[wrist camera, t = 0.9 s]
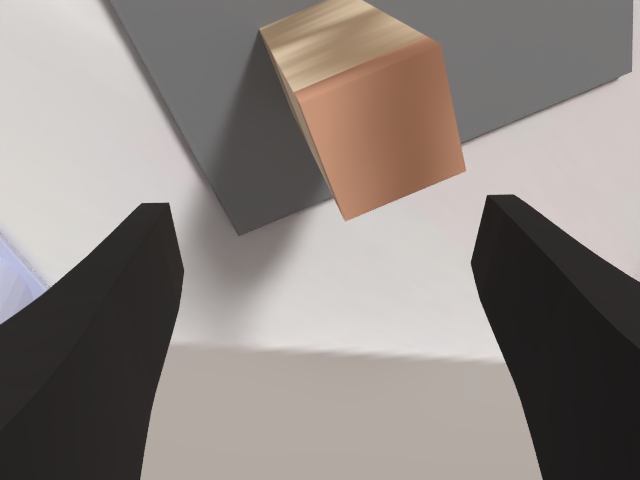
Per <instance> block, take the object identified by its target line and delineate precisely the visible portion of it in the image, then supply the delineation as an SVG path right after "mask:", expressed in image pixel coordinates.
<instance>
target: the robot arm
mask: <svg viewBox="0 0 640 480" xmlns="http://www.w3.org/2000/svg"><path fill="white" fill-rule="evenodd" d="M471 266H472V270H473V274H474V279H475V283H476V287H477V290H478V294H479V298H480V301H481V303H482V306H483V308H484V311H485V313H486V316H487V318H488V321H489V323H490V326H491V328H492V330H493V333H494V335H495V338H496V340H497V342H498V345H499V347H500V350H501V352H502V354H503V357H504V359H505V361H506V364H507V366H508V369H509V371H510V373H511V376H512V378H513V381H514V383H515V386H516V389H517V391H518V394H519V397H520V400H521V403H522V407H523V410H524V413H525V417H526V420H527V424H528V427H529V430H530V434H531V437H532V441H533V445H534V448H535V452H536V456H537V459H538V463H539V467H540V471H541V474H542V478H543V480H640V282H638V281H637V280H635V279H633V278H632V277H630V276H629V275H627V274H625V273H624V272H622V271H621V270H619V269H618V268H616V267H615V266H613V265H612V264H610V263H608V262H607V261H605V260H604V259H602V258H601V257H599V256H598V255H596V254H595V253H594V252H592V251H591V250H589V249H588V248H586V247H585V246H584V245H582V244H581V243H579V242H578V241H577V240H575V239H574V238H573V237H571V236H570V235H568V234H567V233H566V232H564V231H563V230H562V229H560V228H559V227H558V226H556V225H555V224H554V223H552V222H551V221H550V220H548V219H547V218H546V217H544V216H543V215H542V214H540V213H539V212H538V211H536V210H535V209H534V208H532V207H531V206H530V205H528V204H527V203H526V202H524V201H523V200H521V199H520V198H518V197H517V196H515V195H514V194H513V195H487V198H486V202H485V206H484V210H483V214H482V218H481V223H480V227H479V231H478V235H477V239H476V243H475V247H474V251H473V256H472V260H471ZM183 276H184V268H183V263H182V259H181V254H180V250H179V245H178V241H177V237H176V232H175V228H174V223H173V219H172V214H171V210H170V205H169V203H141V204H140V205H139V206H138V207H137V208H136V209H135V210H134V211H133V212H132V213H131V214H130V215H129V216H128V217H127V218H126V219H125V220H124V221H123V222H122V223H121V224H120V225H119V226H118V227H117V228H116V229H115V230H114V231H113V232H112V233H111V234H110V235H109V236H108V237H107V238H105V239H104V240H103V241H102V242H101V243H100V244H99V245H98V246H97V247H96V248H95V249H94V250H93V251H92V252H91V253H90V254H89V255H88V256H87V257H86V258H84V259H83V260H82V261H81V262H80V263H79V264H77V265H76V266H75V267H74V268H73V269H72V270H71V271H69V272H68V273H67V274H66V275H65V276H64V277H62V278H61V279H60V280H59V281H58V282H57V283H55V284H54V285H53V286H52V287H51V288H49V287H48V286H47V285H46V284H45V283H44V282H43V281H42V280H41V278H40V277H39V276H38V275H37V274H36V273H35V272H34V271H33V269H32V268H31V267H30V266H29V265H28V264H27V263H26V262H25V261H24V259H23V258H22V257H21V256H20V255H19V254H18V253H17V252H16V250H15V249H14V248H13V247H12V246H11V245H10V244H9V243H8V241H7V240H6V239H5V238H4V237H3V236H2V235H1V234H0V480H140V477H141V470H142V463H143V457H144V450H145V444H146V438H147V432H148V427H149V421H150V414H151V410H152V406H153V401H154V397H155V393H156V389H157V385H158V382H159V379H160V375H161V372H162V368H163V365H164V361H165V357H166V354H167V350H168V347H169V343H170V340H171V336H172V333H173V329H174V326H175V322H176V318H177V314H178V311H179V305H180V299H181V292H182V284H183Z"/></svg>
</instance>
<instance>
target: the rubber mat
mask: <svg viewBox="0 0 640 480" xmlns="http://www.w3.org/2000/svg"><path fill="white" fill-rule="evenodd" d="M109 1H110V3H111V4H112V6H113V8H114V10H115V12H116V13H117V15H118V17H119V19H120V21H121V23H122V24H123V26H124V28H125V30H126V32H127V33H128V35H129V37H130V39H131V41H132V43H133V44H134V46H135V48H136V50H137V52H138V54H139V55H140V57H141V59H142V61H143V63H144V64H145V66H146V68H147V70H148V72H149V74H150V75H151V77H152V79H153V81H154V83H155V84H156V86H157V88H158V90H159V92H160V94H161V95H162V97H163V99H164V101H165V103H166V105H167V106H168V108H169V110H170V112H171V114H172V115H173V117H174V119H175V121H176V123H177V125H178V126H179V128H180V130H181V132H182V134H183V136H184V137H185V139H186V141H187V143H188V145H189V146H190V148H191V150H192V152H193V154H194V156H195V157H196V159H197V161H198V163H199V165H200V166H201V168H202V170H203V172H204V174H205V176H206V177H207V179H208V181H209V183H210V185H211V187H212V188H213V190H214V192H215V194H216V196H217V197H218V199H219V201H220V203H221V205H222V207H223V208H224V210H225V212H226V214H227V216H228V218H229V219H230V221H231V223H232V225H233V227H234V228H235V230H236V232H237V234H238V236H240V235H243V234H245V233H247V232H250V231H252V230H255V229H257V228H259V227H262V226H264V225H266V224H269V223H271V222H274V221H276V220H278V219H281V218H283V217H286V216H288V215H290V214H293V213H295V212H298V211H300V210H302V209H305V208H307V207H310V206H312V205H314V204H317V203H319V202H321V201H324V200H326V199H329V198H331V197H333V195H332V193H331V191H330V189H329V187H328V185H327V183H326V181H325V179H324V177H323V175H322V173H321V171H320V169H319V167H318V165H317V162H316V160H315V158H314V156H313V154H312V152H311V150H310V148H309V146H308V144H307V142H306V140H305V138H304V136H303V134H302V132H301V129H300V127H299V125H298V123H297V121H296V119H295V117H294V115H293V113H292V110H291V108H290V105H289V103H288V100H287V98H286V95H285V93H284V90H283V88H282V85H281V83H280V80H279V78H278V75H277V73H276V70H275V68H274V65H273V63H272V60H271V58H270V55H269V53H268V50H267V48H266V45H265V43H264V40H263V38H262V35H261V33H260V30H259V29H260V28H262V27H264V26H267V25H269V24H271V23H274V22H276V21H278V20H281V19H283V18H285V17H288V16H290V15H292V14H295V13H297V12H299V11H302V10H304V9H306V8H309V7H311V6H314V5H316V4H318V3H321V2H323V1H325V0H109ZM363 1H365V2H366V3H368V4H370V5H372V6H374V7H375V8H377V9H379V10H381V11H383V12H384V13H386V14H388V15H390V16H391V17H393V18H395V19H397V20H399V21H400V22H402V23H404V24H406V25H408V26H409V27H411V28H413V29H415V30H417V31H418V32H420V33H422V34H424V35H426V36H427V37H429V38H431V39H433V40H435V41H436V42H438V43H440V44H441V48H442V53H443V58H444V63H445V68H446V73H447V78H448V83H449V88H450V93H451V98H452V103H453V108H454V113H455V118H456V123H457V128H458V133H459V138H460V143H463V142H465V141H467V140H470V139H472V138H474V137H477V136H479V135H482V134H484V133H486V132H489V131H491V130H494V129H496V128H498V127H501V126H503V125H506V124H508V123H510V122H513V121H515V120H517V119H520V118H522V117H525V116H527V115H529V114H532V113H534V112H537V111H539V110H541V109H544V108H546V107H549V106H551V105H553V104H556V103H558V102H561V101H563V100H565V99H568V98H570V97H572V96H575V95H577V94H580V93H582V92H584V91H587V90H589V89H592V88H594V87H596V86H599V85H601V84H604V83H606V82H608V81H611V80H613V79H616V78H618V77H620V76H623V75H625V74H627V73H630V72H632V37H633V0H363Z"/></svg>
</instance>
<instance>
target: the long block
mask: <svg viewBox="0 0 640 480" xmlns="http://www.w3.org/2000/svg"><path fill="white" fill-rule="evenodd" d="M259 30H260V33H261V35H262V38H263V40H264V43H265V45H266V48H267V50H268V53H269V55H270V58H271V60H272V63H273V65H274V68H275V70H276V73H277V75H278V78H279V80H280V83H281V85H282V88H283V90H284V93H285V95H286V98H287V100H288V103H289V105H290V108H291V110H292V113H293V115H294V117H295V119H296V121H297V123H298V125H299V127H300V129H301V132H302V134H303V136H304V138H305V140H306V142H307V144H308V146H309V148H310V150H311V152H312V154H313V156H314V158H315V160H316V162H317V165H318V167H319V169H320V171H321V173H322V175H323V177H324V179H325V181H326V183H327V185H328V187H329V189H330V191H331V193H332V195H333V197H334V200H335V202H336V204H337V206H338V208H339V210H340V212H341V214H342V216H343V218H344V220H345V221H347V220H350V219H352V218H354V217H357V216H359V215H362V214H364V213H366V212H369V211H371V210H374V209H376V208H378V207H381V206H383V205H386V204H388V203H390V202H393V201H395V200H398V199H400V198H402V197H405V196H407V195H410V194H412V193H414V192H417V191H419V190H422V189H424V188H426V187H429V186H431V185H434V184H436V183H438V182H441V181H443V180H446V179H448V178H450V177H453V176H455V175H458V174H460V173H462V172H465V171H466V168H465V163H464V158H463V153H462V148H461V143H460V138H459V133H458V128H457V123H456V118H455V113H454V108H453V103H452V98H451V93H450V88H449V83H448V78H447V73H446V68H445V63H444V58H443V53H442V48H441V44H440V43H438V42H436V41H435V40H433V39H431V38H429V37H427V36H426V35H424V34H422V33H420V32H418V31H417V30H415V29H413V28H411V27H409V26H408V25H406V24H404V23H402V22H400V21H399V20H397V19H395V18H393V17H391V16H390V15H388V14H386V13H384V12H383V11H381V10H379V9H377V8H375V7H374V6H372V5H370V4H368V3H366V2H365V1H363V0H325V1H323V2H321V3H318V4H316V5H314V6H311V7H309V8H306V9H304V10H302V11H299V12H297V13H295V14H292V15H290V16H288V17H285V18H283V19H281V20H278V21H276V22H274V23H271V24H269V25H267V26H264V27H262V28H260V29H259Z"/></svg>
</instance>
